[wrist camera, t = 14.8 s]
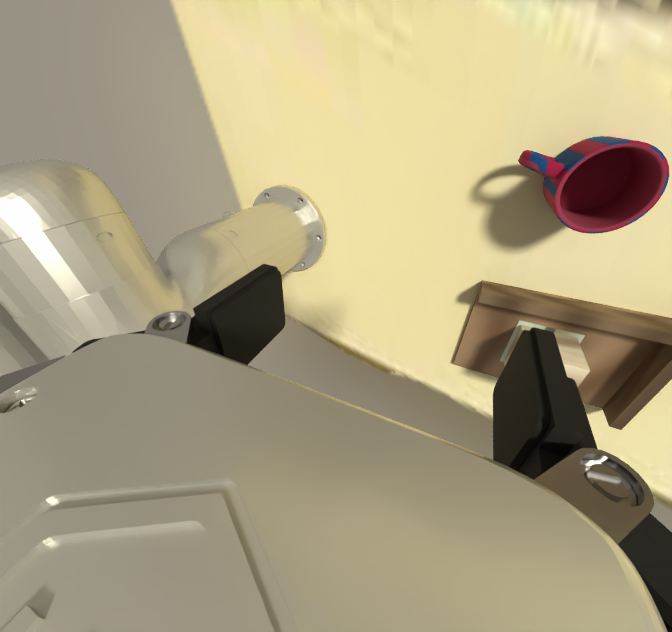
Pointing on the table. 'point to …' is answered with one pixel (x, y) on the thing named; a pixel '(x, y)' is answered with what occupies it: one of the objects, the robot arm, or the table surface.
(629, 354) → the wooden tray
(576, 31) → the table surface
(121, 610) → the robot arm
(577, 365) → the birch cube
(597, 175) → the mug
